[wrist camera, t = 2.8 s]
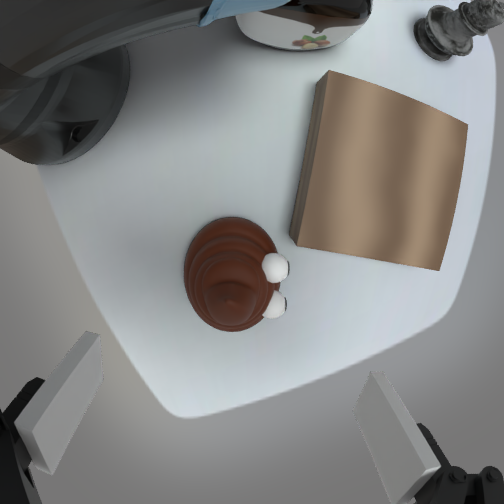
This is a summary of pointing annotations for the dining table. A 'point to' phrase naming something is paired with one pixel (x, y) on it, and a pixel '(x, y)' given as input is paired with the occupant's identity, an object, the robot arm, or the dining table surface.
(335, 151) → the walnut base
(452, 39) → the salt shaker
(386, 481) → the robot arm
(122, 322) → the dining table surface
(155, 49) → the dining table surface
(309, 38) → the spread jar
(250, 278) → the poop emoji
